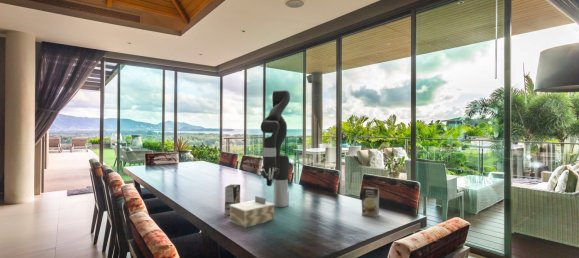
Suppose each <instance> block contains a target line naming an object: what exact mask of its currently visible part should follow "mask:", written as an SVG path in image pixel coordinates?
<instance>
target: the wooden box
mask: <svg viewBox="0 0 579 258" xmlns="http://www.w3.org/2000/svg"><path fill="white" fill-rule="evenodd" d="M274 215H275V206H274V205H272V206H268V207H264V208H259V209H255V210H251V211H246V212H245V211H242V210H239V209H236V208H233V207H231V206H230V216H229V222H231V223H233V224H236V225H238V226H240V227H243V228H248V227H252V226H253V227H254V226H255V225H260V224H264V223H267V222H271V221H274V220H275V216H274Z"/></svg>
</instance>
